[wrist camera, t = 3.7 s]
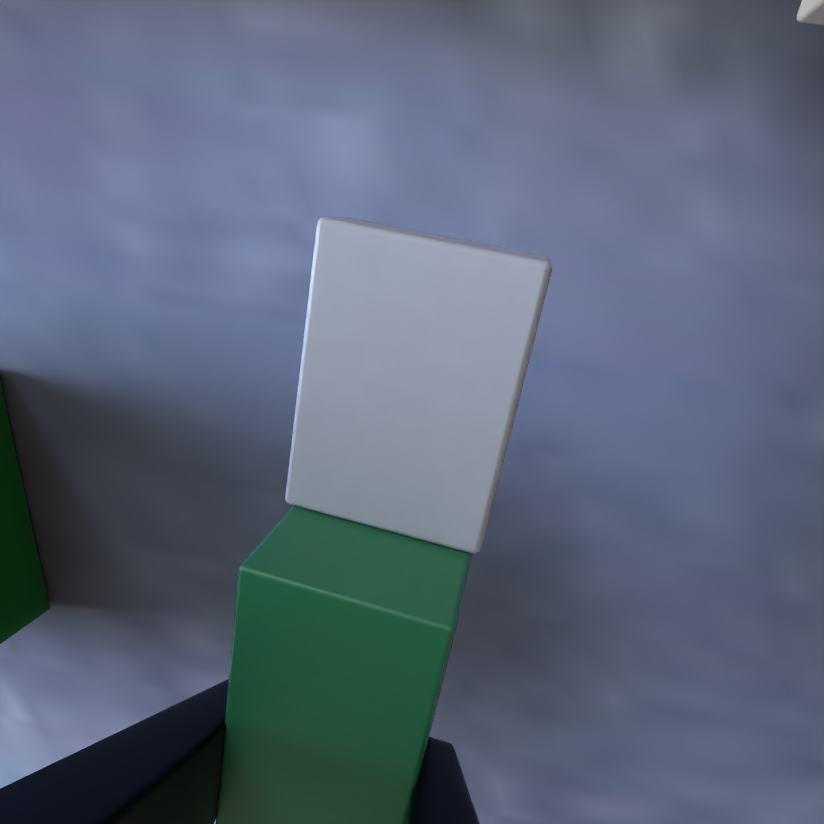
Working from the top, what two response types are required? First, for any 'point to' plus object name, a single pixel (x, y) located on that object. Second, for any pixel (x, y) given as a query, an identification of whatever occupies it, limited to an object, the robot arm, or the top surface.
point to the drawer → (811, 12)
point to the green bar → (374, 520)
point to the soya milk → (16, 543)
